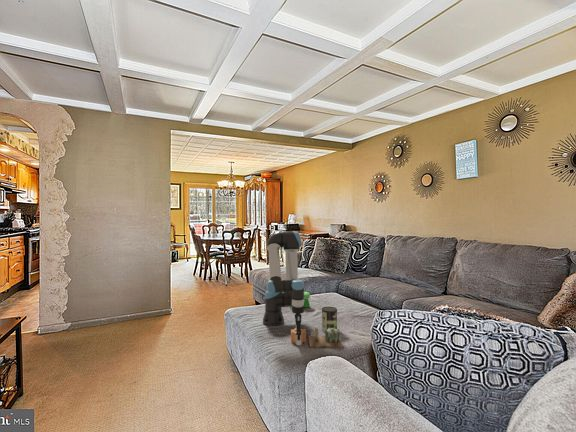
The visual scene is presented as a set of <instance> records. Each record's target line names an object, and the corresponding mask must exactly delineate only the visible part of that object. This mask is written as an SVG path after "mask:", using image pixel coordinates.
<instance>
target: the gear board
mask: <svg viewBox="0 0 576 432" xmlns="http://www.w3.org/2000/svg"><path fill="white" fill-rule="evenodd" d="M340 334H341V333H340V330H339V328H337V329H335V328H328V329H325V332H324V335H319V328H317V327H316V328H314V335H307V336H308V342H309V347H310V349H314V348H313V347H338V348H344V345H343V343H342V340H341V338H340Z"/></svg>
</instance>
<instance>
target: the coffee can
mask: <svg viewBox="0 0 576 432" xmlns="http://www.w3.org/2000/svg"><path fill="white" fill-rule="evenodd" d="M328 328H335V329H338V308H336V306H335V307H334V306H323V307H321V331H322V332H323V333H325V329H328Z"/></svg>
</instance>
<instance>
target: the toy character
mask: <svg viewBox="0 0 576 432" xmlns="http://www.w3.org/2000/svg"><path fill="white" fill-rule="evenodd" d="M310 298H311V294H310V292H308V291H304V300H305V302H304V305H303V306H304V309H305V308H309V307H310V300H309V299H310ZM289 308H290V309H292V307H289Z"/></svg>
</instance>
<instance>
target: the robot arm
mask: <svg viewBox="0 0 576 432" xmlns="http://www.w3.org/2000/svg"><path fill="white" fill-rule="evenodd" d="M266 243H267V244H266V249H267V251H268V263H269V265H268V266H269V267H268V268H269V271H268V272H269V280H267V283H266V285H267V286H266V291H265V292H264V299H265V300H264V303H265V304H264V308H265V309H264V310H265V311H264V314H263V317H262V323H263V325H266V326H271V327H272V326H274V327H276V326H280V325H283V324H285V323H284V322H285V317H284V315H283V312H282V311H283V310H282V308H290V307H291V312H292V313H293V314H294V318H295V319H294V320H295V328H296V329H297V333H295V335H296V346H302V344H301V328H302V314H304V312H305V308H304V306H303V305H304V302H305V300H304V292H305V282H304V280H303V279H300V278H299V273H298V271H299V270H298V266H299V265H298V252H299V250H300V248H301V247H302V239H301V235H300V232H299V231H295V230H290V231H287V230H286V231H275V232H274V233H272V234H271V235H270V236H269V238H268V239H267V242H266ZM281 248H283V249H282V250H283V251H284V252H285V280H284V279H282V270H281V256H280V250H281ZM298 332H300V333H298Z"/></svg>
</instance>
